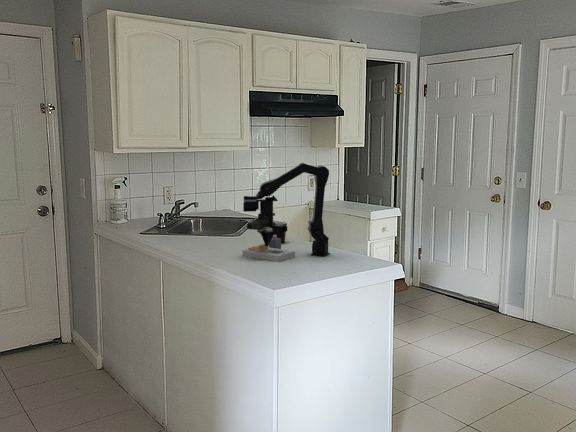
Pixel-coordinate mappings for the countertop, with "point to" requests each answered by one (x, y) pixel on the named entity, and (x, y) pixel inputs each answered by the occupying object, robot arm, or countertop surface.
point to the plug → (275, 242)
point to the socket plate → (270, 254)
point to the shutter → (259, 247)
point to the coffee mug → (281, 235)
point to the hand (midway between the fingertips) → (266, 246)
